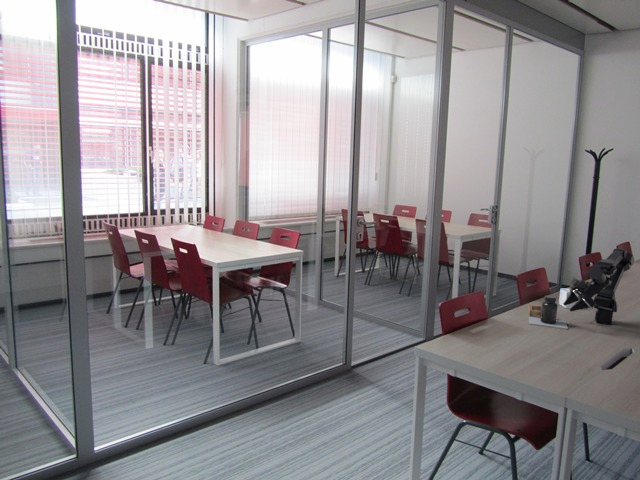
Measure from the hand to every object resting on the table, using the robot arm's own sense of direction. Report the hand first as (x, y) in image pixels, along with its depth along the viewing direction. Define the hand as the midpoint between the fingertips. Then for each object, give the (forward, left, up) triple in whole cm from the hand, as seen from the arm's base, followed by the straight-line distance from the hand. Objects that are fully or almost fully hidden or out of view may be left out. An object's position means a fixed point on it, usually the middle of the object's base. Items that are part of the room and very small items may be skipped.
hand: (567, 307), depth 233 cm
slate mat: (+8, +2, -8) cm, 11 cm away
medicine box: (-3, -34, -8) cm, 35 cm away
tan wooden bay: (+10, -11, -8) cm, 17 cm away
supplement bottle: (+7, +1, -8) cm, 11 cm away
